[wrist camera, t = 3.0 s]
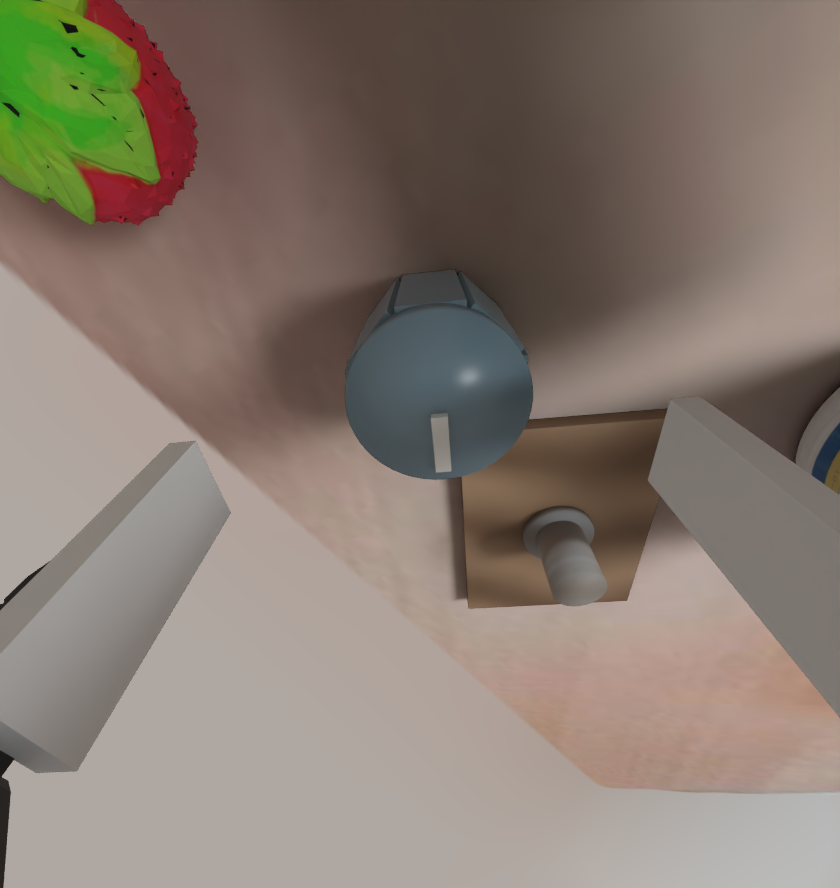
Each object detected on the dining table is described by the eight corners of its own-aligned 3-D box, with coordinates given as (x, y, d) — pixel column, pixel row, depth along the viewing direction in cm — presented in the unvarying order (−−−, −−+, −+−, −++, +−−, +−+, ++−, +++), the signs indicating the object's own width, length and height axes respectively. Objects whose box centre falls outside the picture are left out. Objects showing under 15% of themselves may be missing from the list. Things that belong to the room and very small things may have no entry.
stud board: (458, 425, 22) (467, 486, 18) (674, 408, 21) (743, 467, 17) (467, 597, 31) (474, 668, 26) (621, 589, 30) (656, 661, 25)
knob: (357, 279, 18) (323, 323, 12) (500, 264, 17) (541, 302, 11) (380, 405, 21) (362, 490, 15) (499, 395, 21) (529, 477, 15)
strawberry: (91, -86, 12) (-662, -718, 4) (278, 144, 15) (96, 82, 7) (17, 74, 14) (-574, -98, 6) (195, 248, 17) (-21, 300, 9)
